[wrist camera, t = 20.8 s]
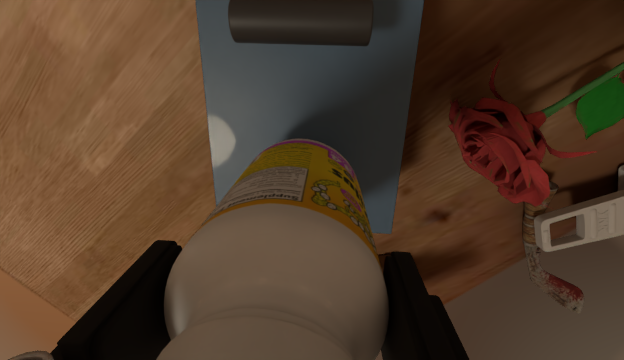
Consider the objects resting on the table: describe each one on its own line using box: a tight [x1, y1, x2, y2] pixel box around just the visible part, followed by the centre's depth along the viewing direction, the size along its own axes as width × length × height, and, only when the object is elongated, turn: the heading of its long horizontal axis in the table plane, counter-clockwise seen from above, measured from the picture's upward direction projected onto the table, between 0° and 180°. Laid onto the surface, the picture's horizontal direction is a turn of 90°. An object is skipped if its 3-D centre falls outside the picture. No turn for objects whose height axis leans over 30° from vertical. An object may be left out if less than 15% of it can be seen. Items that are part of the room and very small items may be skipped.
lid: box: [195, 0, 424, 234], centre depth 17 cm, size 15×13×6 cm
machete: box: [523, 181, 584, 314], centre depth 32 cm, size 21×3×5 cm
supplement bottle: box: [156, 139, 389, 360], centre depth 11 cm, size 7×7×13 cm
